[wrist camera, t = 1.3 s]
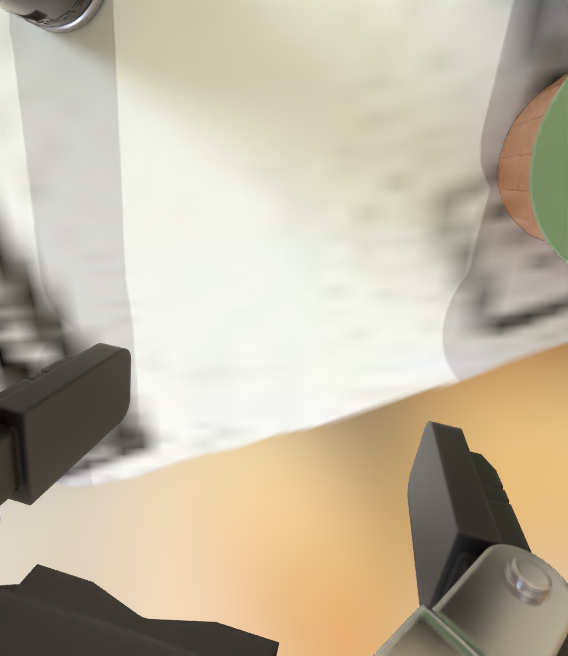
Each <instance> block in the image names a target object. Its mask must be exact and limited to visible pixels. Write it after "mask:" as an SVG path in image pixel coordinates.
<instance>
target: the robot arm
mask: <svg viewBox="0 0 568 656" xmlns="http://www.w3.org/2000/svg"><path fill="white" fill-rule="evenodd" d="M102 2H103V0H0V7H1V9H2V8H3V10H4V9H5V11H6V10H7V12H8V11H10V12H12V13H14V14H16V15H19V16H21V17H23V18H24V20H25V19H26V21H28V22H30V23H32V24H34V25H37V26H39V27H41V28H43V29H45V30H47V31H48V30H49V32H50V31H53V32H70V31H73V30H76V29H78V28H81V27H82V26H84V25H85V24H86V23H88V22H89V21H90V20H91V19H92V18H93V17H94V15H95V14H96V13H97V11H98V10H99V8H100V6H101V4H102ZM21 17H20V18H21ZM23 18H22V19H23ZM130 381H131V355H130V352H129V350H128V349H125V348H120V347H116V346H112V345H108V344H104V343H99V344H97V345H95V346H93V347H91V348H90V349H88V350H86V351H84V352H83V353H81V354H79V355H77V356H74V357H70V358H67V359H63V360H60V361H57V362H55V363H53V364H51V365H49V366H48V367H46V368H44V369H42V370H41V372H37V373H35V374H33V375H31V376H29V377H28V379H27V380H26V379H24V380H22V381H20V382H18V383H17V384H15V385H13V386H11V387H9V388H8V389H6V390H4V391H2V392H0V505H1V504H3V503H4V502H5V501H6V500H7V499H12V500H14V501H18V502H21V503H24V504H28V505H31V504H33V503H34V502H35V501H36V500H37V499H38V498H39V497H40V496H41V495H42V494H43V493H44V492H45V491H47V490H48V489H49V488H50V487H51V486H52V485H53V484H54V483H55V482H56V481H57V480H58V479H60V478H61V477H62V476H63V475H64V474H65V473H66V472H67V471H68V470H69V469H70V468H71V467H72V466H74V465H75V464H76V463H77V462H78V461H79V460H80V459H81V458H82V457H83V456H84V455H85V454H86V453H88V452H89V451H90V450H91V449H92V448H93V447H94V446H95V445H96V444H97V443H98V442H99V441H100V440H102V439H103V438H104V437H105V436H106V435H107V434H108V433H109V432H110V431H111V430H112V429H113V428H114V427H116V426H117V425H118V424H119V423H120V422H121V421H122V419H123V418H124V416H125V415H126V413H127V410H128V407H129V403H130ZM408 505H409V514H410V523H411V532H412V541H413V550H414V560H415V569H416V578H417V587H418V596H419V605H420V607H419V608H418V609H417V610H416V611H415V612H414V613H413V614H412V615H411V616H410V617H409V618H408V619H407V620H406V621H405V622H404V623H403V624H402V625H401V627H400V628H399V629H398V630H397V631H396V632H395V633H394V634H393V635H392V636H391V637H390V638H389V639H388V640H387V641H386V642H385V644H383V646H382V647H381V648H380V649H379V650H378V651H377V652H376V653H375V654H374V655H373V656H568V583H567V582H566V581H565V580H564V579H563V577H562V576H561V575H560V574H559V573H558V572H557V571H556V570H555V569H553V568H552V567H551V566H550V565H549V564H548V563H546V562H545V561H544V560H542V559H541V558H539V557H537V556H536V555H534V554H532V553H531V550H530V548H529V546H528V543H527V541H526V539H525V536H524V534H523V532H522V530H521V527H520V525H519V522H518V520H517V518H516V515H515V513H514V511H513V509H512V506H511V505H510V504H509V499H508V497H507V495H506V492H505V490H503V485H502V483H501V481H500V478H499V476H498V474H497V472H496V470H495V469H494V468H493V467H492V466H491V465H490V463H489V462H488V461H487V460H486V459H485V458H484V457H483V456H482V455H481V454H478V453H474V452H470V451H469V448H468V445H467V442H466V440H465V437H464V434H463V431H462V429H461V428H457V427H453V426H448V425H444V424H440V423H436V422H431V421H429V422H428V423H427V425H426V427H425V429H424V432H423V435H422V439H421V442H420V445H419V448H418V451H417V454H416V457H415V460H414V464H413V467H412V470H411V474H410V478H409V484H408ZM0 519H1V511H0ZM278 646H279V642H276V641H273V640H270V639H267V638H264V637H260V636H257V635H254V634H251V633H248V632H245V631H242V630H239V629H236V628H233V627H230V626H226V625H224V624H220V623H217V622H204V621H182V620H160V619H159V620H158V619H147V618H144V617H141V616H140V615H138V614H136V613H135V612H134V611H132V610H131V609H129V608H128V607H127V606H125V605H124V604H123V603H121V602H120V601H118V600H117V599H116V598H114V597H113V596H111V595H110V594H109V593H107V592H106V591H105V590H103V589H102V588H100V587H99V586H97V585H96V584H95V583H93V582H91V581H88V580H85V579H81V578H79V577H76V576H73V575H69V574H66V573H63V572H60V571H57V570H54V569H51V568H48V567H45V566H42V565H39V564H37V565H36V566H35V567H34V568H33V569H32V571H31V572H30V573H29V574H28V575H27V576H26V577H25V579H24V580H23V581H22V582H21V583H20V584H13V585H0V656H276V655H277V651H278Z"/></svg>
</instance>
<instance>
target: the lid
mask: <svg viewBox="0 0 568 656" xmlns="http://www.w3.org/2000/svg"><path fill="white" fill-rule="evenodd" d="M529 190H530V200H531V205H532V209H533V213H534V216H535V219H536V221H537V224H538V227H539V229H540V231H541V233H542V234H543V236H544V238H545V239H546V241H547V243H548V244H549V245H550V246H551V248H552V249H553V250H554V251H555V253H556V254H557V255H558V256H559V257H560V258H562V259H563V260H564V261H565V262H566V263H567V264H568V77H567V78H566V80H565V81H564V82H563V84H562V85H561V86H560V88H559V90H558V91H557V93H556V95H555V96H554V98H553V100H552V101H551V103H550V105H549V106H548V109H547V111H546V113H545V115H544V117H543V119H542V122H541V124H540V126H539V129H538V132H537V135H536V139H535V142H534V145H533V150H532V155H531V160H530V170H529Z"/></svg>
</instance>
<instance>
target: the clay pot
mask: <svg viewBox="0 0 568 656" xmlns="http://www.w3.org/2000/svg"><path fill="white" fill-rule="evenodd" d="M567 77H568V74H566V75H564V76H563V77H561V78H560V79H559V80H557V81H556V82H554V83H553V84H551V85H550V86H548V87H547V88H546V89H544V90H543V91H542V92H541V93H539V94H538V95H537V96H536V97H535V98H533V100H532V101H531V102H530V103H529V104H528V105H527V106H526V107H525V108H524V109H523V111H522V112H521V114H520V115H519V116H518V118H517V119H516V120H515V122H514V124H513V125H512V127H511V129H510V131H509V133H508V135H507V137H506V139H505V142H504V144H503V148H502V151H501V154H500V160H499V165H498V183H499V190H500V194H501V198H502V201H503V203H504V206H505V208H506V210H507V211H508V213H509V215H510V216H511V217H512V219H513V220H514V221H515V222H516V223H517V224H518V225H519V226H520V227H521V228H522V229H523V230H525V231H526V232H527V233H528V234H529V235H532V236H534V237H536V238H539V239H541V240H543V241H546V239H545V238H544V236H543V234H542V233H541V231H540V229H539V227H538V224H537V221H536V219H535V216H534V213H533V209H532V205H531V200H530V190H529V170H530V160H531V155H532V150H533V145H534V142H535V139H536V135H537V132H538V129H539V126H540V124H541V122H542V119H543V117H544V115H545V113H546V111H547V109H548V106H549V105H550V103H551V101H552V100H553V98H554V96H555V95H556V93H557V91H558V90H559V88H560V86H561V85H562V84H563V82H564V81H565V80H566V78H567ZM546 242H547V241H546Z"/></svg>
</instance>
